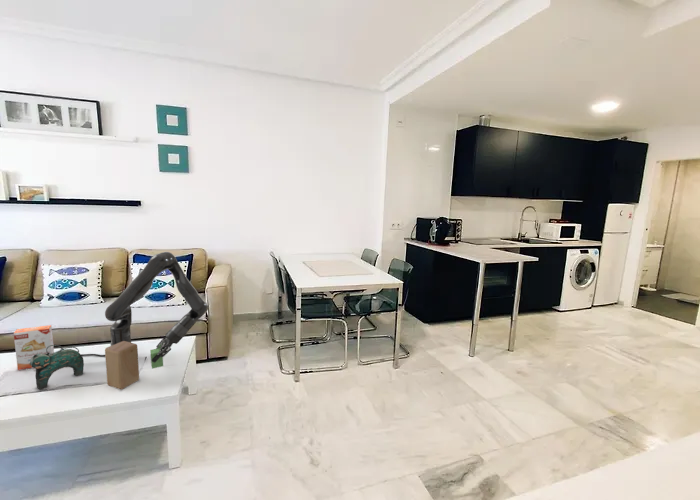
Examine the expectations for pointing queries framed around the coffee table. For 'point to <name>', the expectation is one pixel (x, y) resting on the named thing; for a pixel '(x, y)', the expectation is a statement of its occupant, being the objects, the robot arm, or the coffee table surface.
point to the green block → (159, 362)
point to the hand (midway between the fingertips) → (152, 359)
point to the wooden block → (122, 364)
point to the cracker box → (32, 344)
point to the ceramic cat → (55, 364)
